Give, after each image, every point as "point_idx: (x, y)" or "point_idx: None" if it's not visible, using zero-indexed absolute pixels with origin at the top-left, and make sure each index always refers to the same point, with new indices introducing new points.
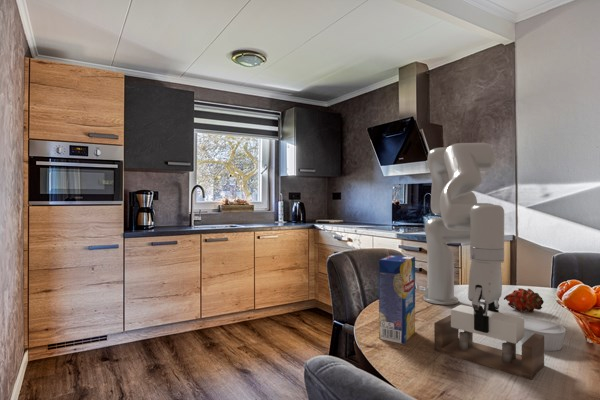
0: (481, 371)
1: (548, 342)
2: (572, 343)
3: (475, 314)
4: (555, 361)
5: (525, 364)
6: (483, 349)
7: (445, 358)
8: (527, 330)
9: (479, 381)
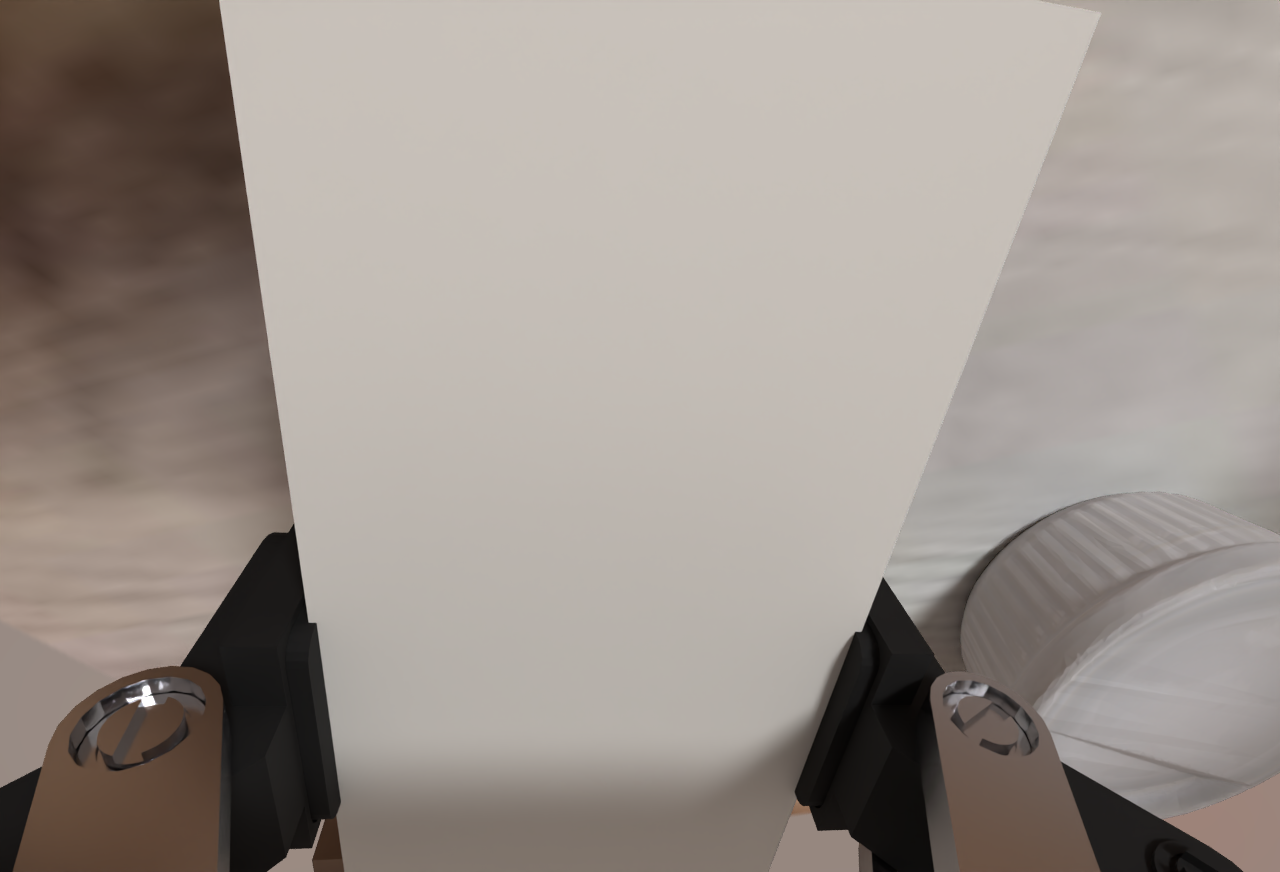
0: (223, 419)
1: None
2: None
3: (226, 662)
4: None
5: None
6: None
7: (197, 30)
8: (1056, 658)
9: (14, 457)
